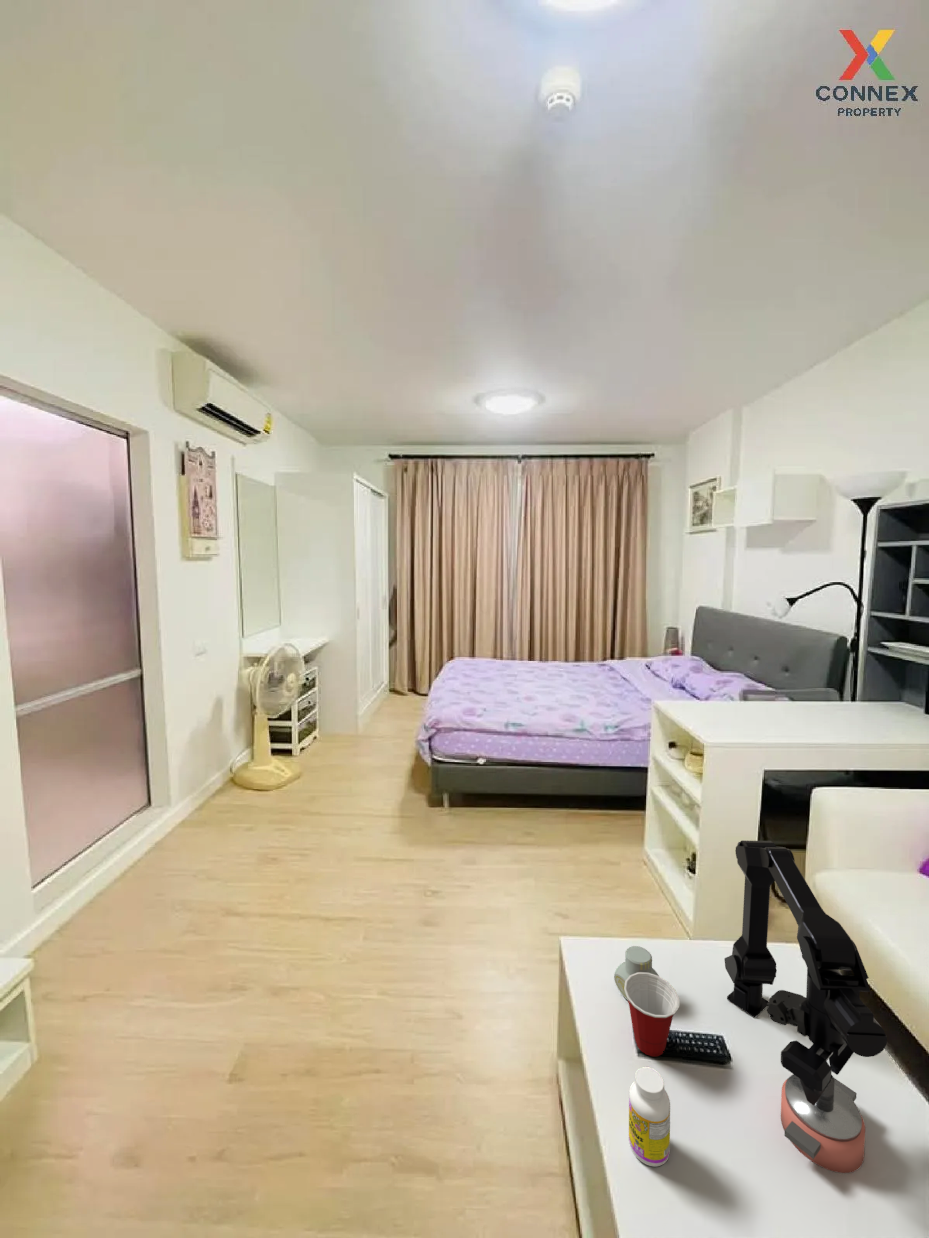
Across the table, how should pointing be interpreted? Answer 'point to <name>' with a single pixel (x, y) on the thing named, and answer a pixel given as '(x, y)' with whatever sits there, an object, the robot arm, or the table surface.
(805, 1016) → the robot arm
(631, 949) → the air freshener
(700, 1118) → the table surface
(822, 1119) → the lid
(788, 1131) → the pot
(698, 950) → the table surface
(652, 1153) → the supplement bottle
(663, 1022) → the plastic cup
